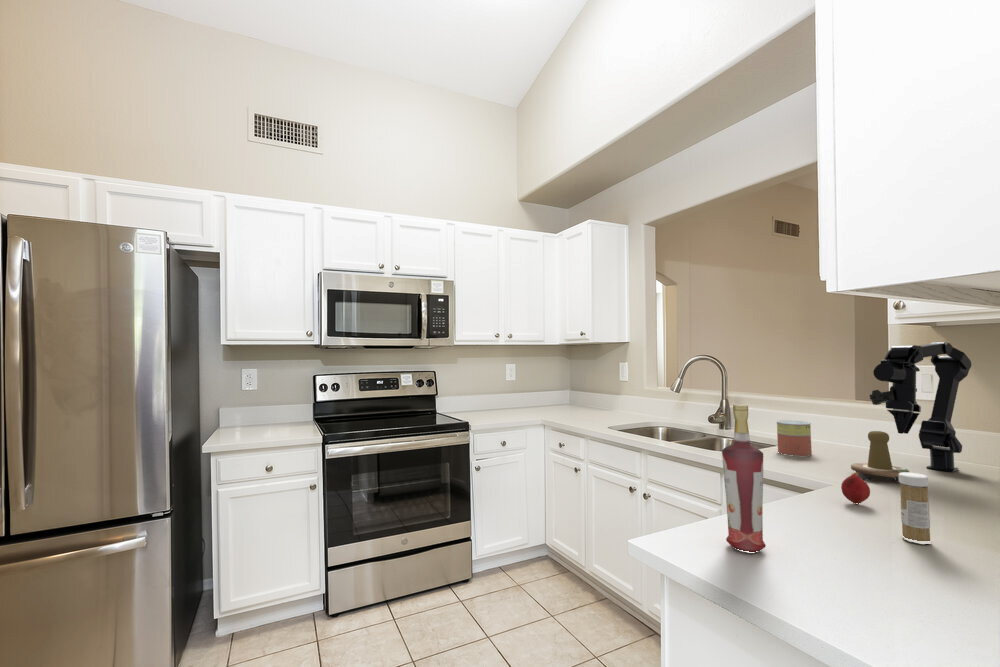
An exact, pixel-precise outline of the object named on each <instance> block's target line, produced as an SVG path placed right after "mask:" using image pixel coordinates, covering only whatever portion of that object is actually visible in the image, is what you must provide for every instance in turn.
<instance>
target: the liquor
mask: <svg viewBox="0 0 1000 667" xmlns="http://www.w3.org/2000/svg"><path fill="white" fill-rule="evenodd" d="M732 410H733V411H732V413H733V418H734V433H733V443H731V444H729V445H726V446H725V447H724V448H723V449H722V450H721V457H722V458H721V459H722V466H723V467H722V468H723V469H722V470H723V471H722V472H723V482H724V490H725V500H726V501H725V502H726V516H727V531H728V532H727V533H728V536H727V537H726V538H725V540H726V542H727V543H728V544H729V545H730V546H731V547H732V548H733V547H734V548H736V549H739V550H743V551H749V552H756V551H759V552H761V551H762V550H764V549H765V548H766V543H765V541H764V537H763V536H764V535H763V529H764V526H763V525H764V524H763V521H764V520H763V518H764V517H763V508H764V506H763V503H764V501H763V498H764V497H763V496H764V453H763V451H761V449H759V448H757V447H756V446H754V445H751V438H750V432H749V424H748V423H749V422H748V418H749V405H747V404H733V405H732ZM734 548H733V549H734ZM760 550H761V551H760Z"/></svg>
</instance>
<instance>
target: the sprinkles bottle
mask: <svg viewBox="0 0 1000 667" xmlns="http://www.w3.org/2000/svg"><path fill="white" fill-rule="evenodd" d="M899 482H900V483H899ZM899 482H898V483H899V487H900V516H901V518H900V519H901V529H902V530H901V531H902V535H903V536H904V537H905V538H908V539H912V540H917V541H930V540H931V530H930V529H931V517H930V516H931V515H930V501H929V491H928V490H929V484H930V483H929V477H928V475H926V474H922V473H917V472H910V471H909V472H902V473H899Z"/></svg>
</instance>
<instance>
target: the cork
mask: <svg viewBox="0 0 1000 667" xmlns="http://www.w3.org/2000/svg"><path fill="white" fill-rule="evenodd" d="M867 438H868V440H869V451H868V458H867V463H868V467H870V468H875V469H883V470H891V469H893V468H892V466H893V464H892V460H891V455H890V450H889V445H888V443H889V441H890V435H889V434H888V433H887V432H886V431H881V430H872V431H869V432H868V434H867Z"/></svg>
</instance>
